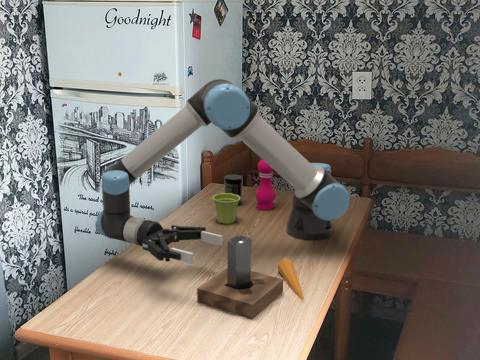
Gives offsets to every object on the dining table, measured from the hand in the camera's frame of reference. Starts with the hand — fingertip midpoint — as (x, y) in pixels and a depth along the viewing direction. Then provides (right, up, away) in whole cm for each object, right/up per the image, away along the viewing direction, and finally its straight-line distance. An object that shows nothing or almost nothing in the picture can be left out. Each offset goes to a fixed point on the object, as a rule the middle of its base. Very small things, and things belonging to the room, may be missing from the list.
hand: (207, 249), depth 155 cm
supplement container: (+6, +9, +69) cm, 70 cm away
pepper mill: (+18, +8, +65) cm, 68 cm away
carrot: (+22, -11, +5) cm, 25 cm away
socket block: (+9, -12, -2) cm, 15 cm away
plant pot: (+4, +4, +51) cm, 51 cm away
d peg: (+9, -12, -2) cm, 15 cm away
